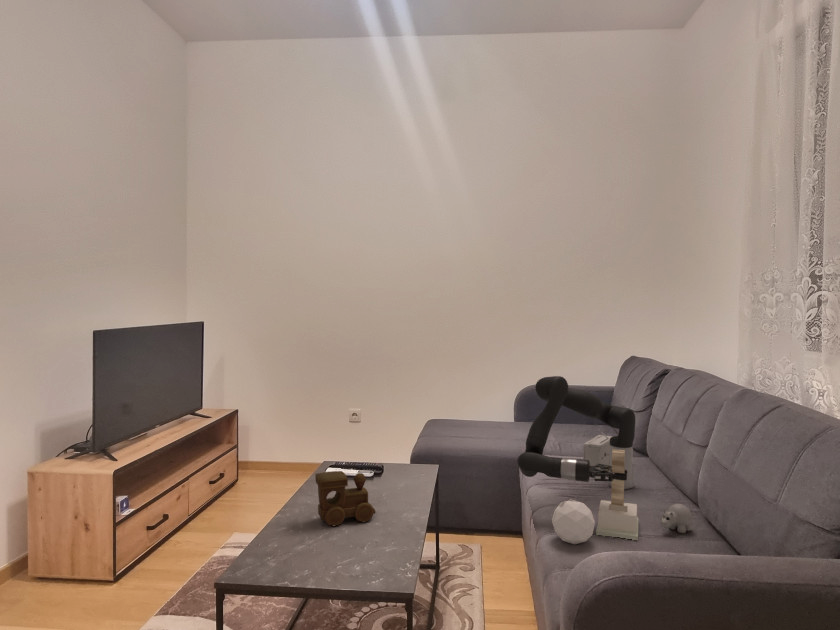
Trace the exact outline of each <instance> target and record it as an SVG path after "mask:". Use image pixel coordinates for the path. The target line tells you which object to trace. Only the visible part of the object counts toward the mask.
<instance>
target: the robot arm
mask: <svg viewBox="0 0 840 630" xmlns="http://www.w3.org/2000/svg"><path fill="white" fill-rule="evenodd" d="M534 388H535V392H536V395H537V396H538V397H539V398H540V399H541V400H543V401H546V402H547V403H546V405H545V406H544V408H543V409H542V410H541V412H540V413H539V414H538V416H537V417H536V418H535V419H534V420H533V422H532V424H531V425H530V428H529V431H528V434H527V437H526V441H525V451H524V452H523V453H521V454H520V455H519V456H518V457H517V466H518V468H519V471H520V472H521V474H523V475H524V476H525V477H527V478H528V477H529V478H532V477H535V476H536V475H537V474H538V473H539V474H540V473H541V474H544V475H545V476H546V477H549V478H555V479H563V480H568V481H575V482H576V481H577V482H583V483H584V482H585V483H588V482H589V481H590V478H592V479H594V482H609V483H608V484H609V486H610V487H611V486H612V481H613V480H615V479H616V480H624V490H629V489H632V488H635V477H636V476H635V474H636V472H635V470H636V469H635V467H636V466H635V464H634V463H633V459H634V458H633V455H634V454H633V452H634V450H633V448H634V447H633V445H634V441H635V436H636V414H635V412H634V410H633V409H631V408H629V407H628V408H627V407H623V406H618V405H611V404H608V403H605V402H603V401H602V400H601V398H600V397H598V396H596V395H595V394H593V393H590V392H589V391H585V390H582V389H575V388H570V387H569V383H568V380H567V379H566V378H565V377H563V376H561V375H560V376H559V375H555V376H554V375H553V376H546V377H542V378H539V379H538V380H537V382H535V386H534ZM562 407H564V408H567V409H568V410H571V411H574V412H575V413H578V414H581V415H583V416H585V417H588V418H591V419H596V420H598V421H600V422H602V423H604V424H606V425H607V426H609V427H610V428H613V429H618V434H617V435H614V436H612V437H611V438H610V454H609V465H604V464H597V465H595V466H590V461H589V460H583V458H582V459H581V458H574V457H555V456H548V455H544V449H545V447H546V444H547V441H548V437H549V435H550V432H551V429H552V426H553V424H554V421H555V420H556V418H557V416H558V414H559V412H560V410H561V408H562ZM613 449H615V450H625V473H616V472H612V450H613Z"/></svg>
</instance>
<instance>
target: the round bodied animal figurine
mask: <svg viewBox="0 0 840 630" xmlns="http://www.w3.org/2000/svg"><path fill="white" fill-rule="evenodd" d="M691 521H692V513H691V510H690V509H689V507H687V506H686V505H685V504H681V503H674V504H672V505H670V506H669V508H668V510H666V509H664V508H663V515H662V518H661V522H660V523H661V526H662V527H663V528H666V529H668V528H669V529H670V530H675V531H677V532H678V533H679V534H686V532H691V531H693V526H692V523H691Z"/></svg>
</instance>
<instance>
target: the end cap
mask: <svg viewBox="0 0 840 630" xmlns="http://www.w3.org/2000/svg"><path fill="white" fill-rule="evenodd" d="M595 532H596V533H595V536H598V535H603V536H602V537H605V536H612V537H611V538H613V537H620V538H626V539H625V540H627V539H632V540H631V541H634V540H637V541H636V542H639V517H638V504H637V503H627V502H624V506H619V505H612V504H611V500H604V499H601V500H600V504H599V508H598V521H597V525H596V530H595ZM620 538H619V539H620Z"/></svg>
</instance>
